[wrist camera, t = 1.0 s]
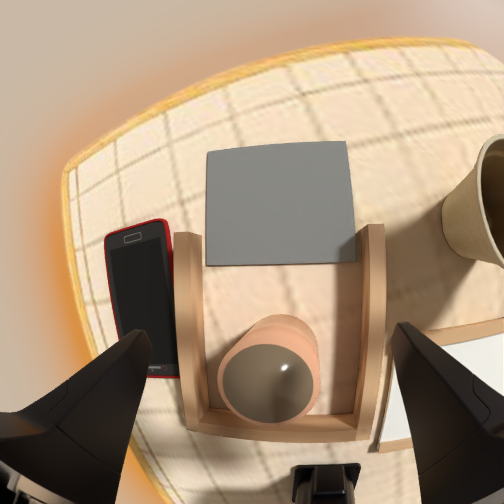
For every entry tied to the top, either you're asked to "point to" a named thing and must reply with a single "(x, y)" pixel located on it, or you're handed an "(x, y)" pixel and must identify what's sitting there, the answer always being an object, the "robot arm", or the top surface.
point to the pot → (272, 372)
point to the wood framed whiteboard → (462, 349)
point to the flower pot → (479, 208)
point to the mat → (280, 204)
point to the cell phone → (145, 290)
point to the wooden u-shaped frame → (309, 425)
